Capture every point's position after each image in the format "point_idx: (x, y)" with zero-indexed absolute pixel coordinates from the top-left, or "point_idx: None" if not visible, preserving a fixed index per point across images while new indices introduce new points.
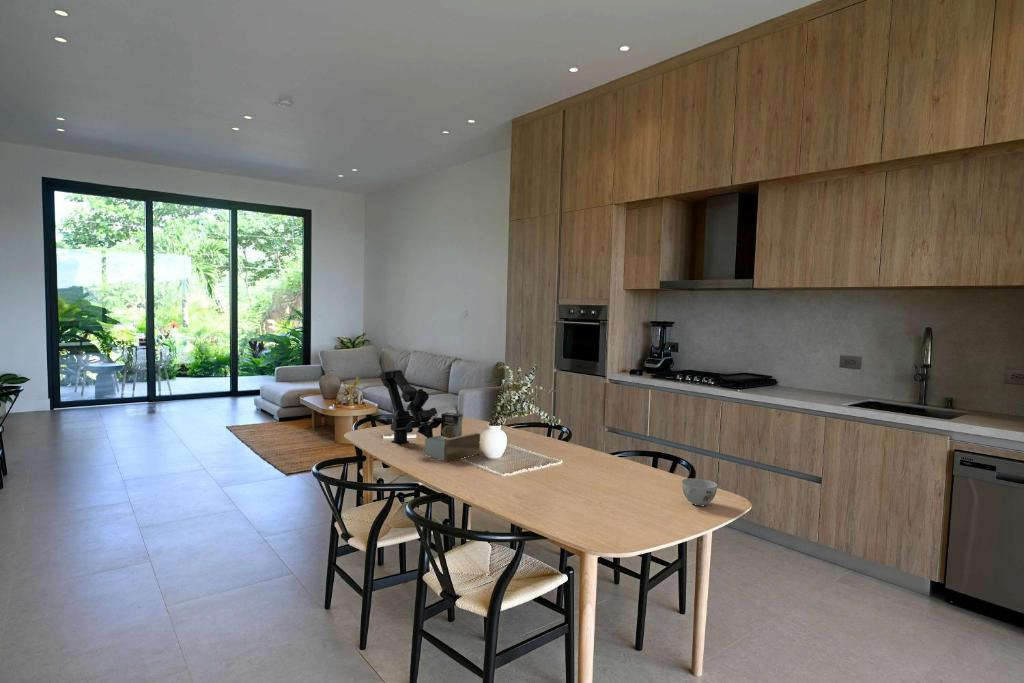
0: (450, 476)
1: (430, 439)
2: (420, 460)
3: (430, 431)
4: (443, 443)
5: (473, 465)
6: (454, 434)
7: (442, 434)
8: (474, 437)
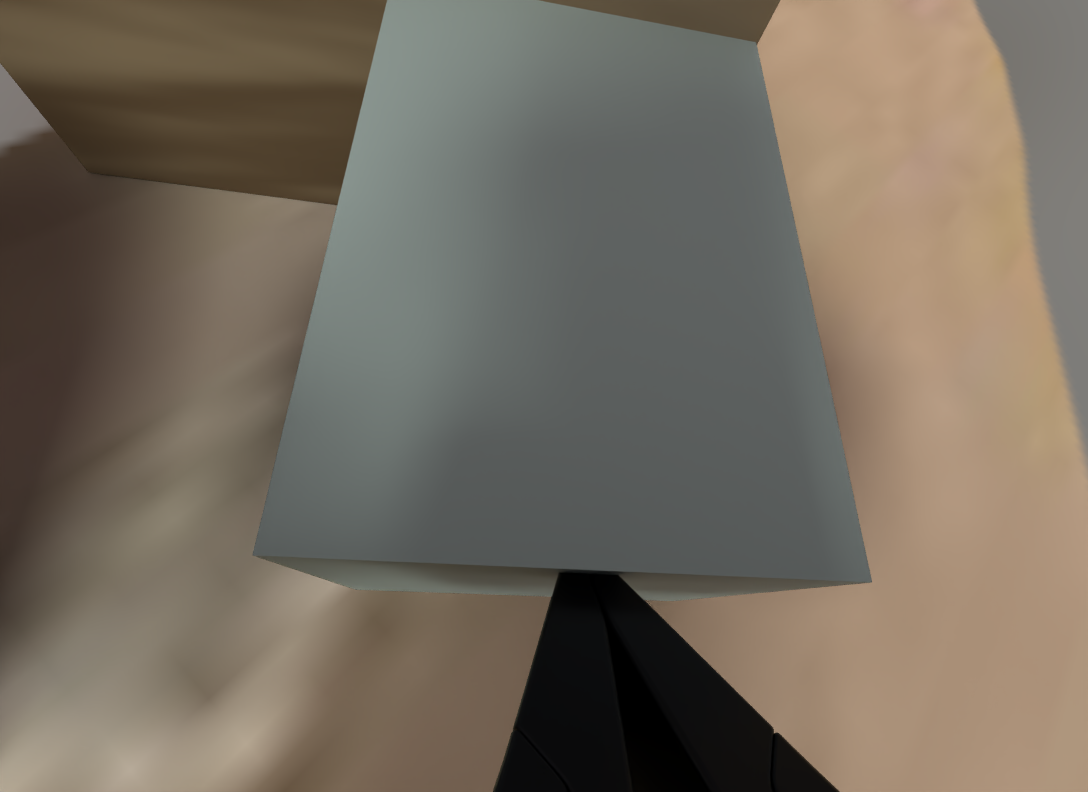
0: (854, 18)
1: (809, 400)
2: (848, 452)
3: (627, 778)
4: (759, 62)
5: None
6: None
7: None
8: None
